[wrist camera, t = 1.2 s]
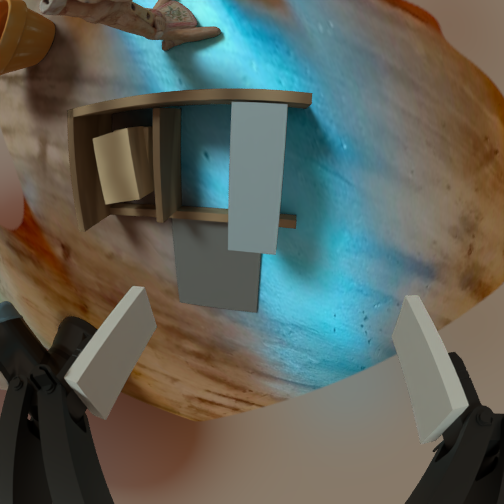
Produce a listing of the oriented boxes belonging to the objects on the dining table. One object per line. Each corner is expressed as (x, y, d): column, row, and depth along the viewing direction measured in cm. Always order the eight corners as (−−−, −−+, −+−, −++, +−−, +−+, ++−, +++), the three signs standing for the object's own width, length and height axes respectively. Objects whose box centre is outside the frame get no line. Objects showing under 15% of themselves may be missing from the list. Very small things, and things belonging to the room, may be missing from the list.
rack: (112, 209, 36) (79, 231, 29) (106, 107, 29) (67, 110, 22) (295, 222, 34) (296, 251, 27) (306, 100, 27) (312, 93, 20)
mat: (180, 300, 42) (179, 302, 42) (172, 216, 36) (171, 217, 35) (256, 310, 41) (256, 312, 41) (262, 223, 34) (262, 224, 34)
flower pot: (56, -6, 19) (5, -16, 7) (76, 33, 24) (15, 23, 12) (12, 51, 24) (-37, 54, 12) (28, 95, 28) (-29, 104, 17)
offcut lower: (130, 185, 34) (116, 191, 31) (128, 128, 31) (113, 130, 28) (161, 185, 34) (149, 192, 31) (161, 125, 30) (148, 127, 27)
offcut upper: (120, 195, 32) (105, 204, 28) (109, 135, 28) (92, 138, 25) (153, 190, 31) (139, 199, 28) (142, 125, 27) (127, 127, 24)
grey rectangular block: (247, 206, 34) (227, 249, 23) (252, 109, 28) (231, 101, 18) (280, 209, 33) (275, 254, 23) (287, 111, 28) (287, 104, 17)
